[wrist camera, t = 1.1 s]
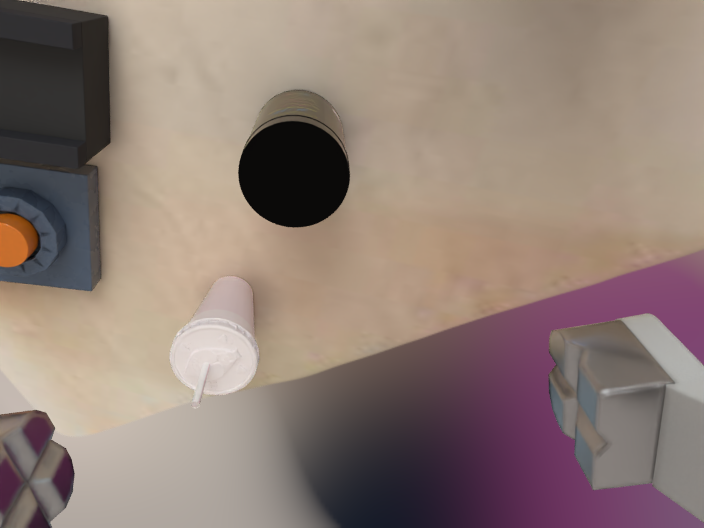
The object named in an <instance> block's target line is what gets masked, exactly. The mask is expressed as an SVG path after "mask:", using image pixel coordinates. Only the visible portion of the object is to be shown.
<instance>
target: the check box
mask: <svg viewBox="0 0 704 528" xmlns="http://www.w3.org/2000/svg"><path fill="white" fill-rule="evenodd" d="M4 213H10V214H15V215H18V216H21V217H23V218H24V219H26V220H27V221H29V222H30V223H31V224H32V226H33V227H34V228H35V230H36V232H37V235H38V246H37V248H36V250H35V251H34V252H33V253H32V254H31V255H30V256H29V257H28V258H27V259H26V260H25V261H24V262H23V263H22V264H20V265H18V266H15V267H1V266H0V281H7V282H15V283H24V284H33V285H41V286H50V287H59V288H67V289H76V290H84V291H92V290H93V289H94V288H95V286H96V285H97V283H98V282H99V280H100V279H101V270H100V237H99V204H98V171H97V167H96V166H89V165H83V166H82V167H81V168H79V169H73V168H66V167H59V166H52V165H45V164H38V163H31V162H24V161H17V160H10V159H2V158H0V214H4Z"/></svg>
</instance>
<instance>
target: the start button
mask: <svg viewBox="0 0 704 528" xmlns="http://www.w3.org/2000/svg"><path fill="white" fill-rule="evenodd" d="M37 246H38V235H37V232H36V230H35V228H34V227H33V226H32V224H31V223H30V222H29V221H27V220H26V219H24V218H23V217H21V216H18V215H15V214H10V213H4V214H0V266H1V267H15V266H18V265H20V264H22V263H23V262H24V261H25V260H26V259H27V258H28V257H29V256H30V255H31V254H32V253H33V252H34V251H35V250H36V248H37Z"/></svg>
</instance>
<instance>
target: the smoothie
mask: <svg viewBox="0 0 704 528" xmlns="http://www.w3.org/2000/svg"><path fill="white" fill-rule="evenodd" d="M258 362H259V348H258V346H257V343H256V340H255V333H254V306H253V291H252V288H251V287H250V285H249V284H248V283H247V282H246V281H245V280H243V279H241V278H239V277H235V276H225V277H222V278H220V279H218V280H217V281H215V283H214V284H213V285H212V287H211V288H210V290H209V292H208V293H207V295H206V296H205V298H204V299H203V301H202V303H201V304H200V306H199V307H198V309H197V311H196V312H195V314H194V315H193V317H192V318H191V320H190V322H189V323H188V324H187V325H185V326H184V327H183V328H182V329H181V330H180V331H179V332H178V333H177V335H176V336H175V338H174V340H173V343H172V347H171V350H170V365H171V368H172V370H173V372H174V374H175V375H176V377H177V378H178V379H179V380H180V381H181V382H182V383H183V384H184V385H186V386H187V387H189V388H191V389H192V390H195V392H194V395H193V399H192V402H191V406H192V407H193V408H197V407H199V405H200V402H201V398H202V394H208V395H225V394H230V393H233V392H236V391H238V390H240V389H242V388H243V387H245V386H246V385H247V384H248V383H249V382H250V381H251V380H252V378H253V377H254V375H255V373H256V370H257V366H258Z"/></svg>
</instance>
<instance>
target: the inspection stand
mask: <svg viewBox="0 0 704 528" xmlns="http://www.w3.org/2000/svg"><path fill="white" fill-rule="evenodd" d="M109 143H110V102H109V51H108V16H106V15H100V14H94V13H88V12H82V11H77V10H71V9H65V8H59V7H54V6H48V5H42V4H36V3H31V2H25V1H19V0H0V158H2V159H10V160H17V161H24V162H31V163H38V164H45V165H52V166H59V167H66V168H73V169H79V168H81V167H82V166H83V165H84V164H85V163H86V162H88V161H89V160H90V159H91V158H92V157H94V156H95V155H96V154H97V153H98V152H100V151H101V150H102V149H103V148H105V147H106V146H107V145H108V144H109Z"/></svg>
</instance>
